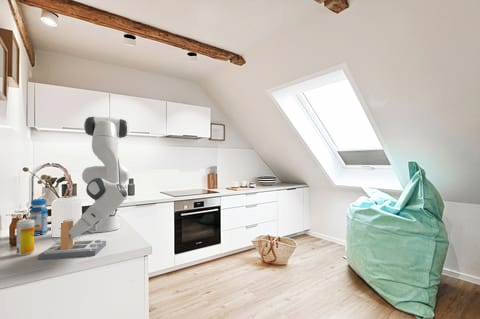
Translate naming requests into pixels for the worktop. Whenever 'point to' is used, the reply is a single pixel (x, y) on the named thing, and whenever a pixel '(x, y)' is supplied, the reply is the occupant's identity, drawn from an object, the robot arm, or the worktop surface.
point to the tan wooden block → (66, 235)
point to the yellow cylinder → (25, 237)
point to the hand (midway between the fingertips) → (72, 237)
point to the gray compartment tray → (73, 249)
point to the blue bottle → (39, 216)
